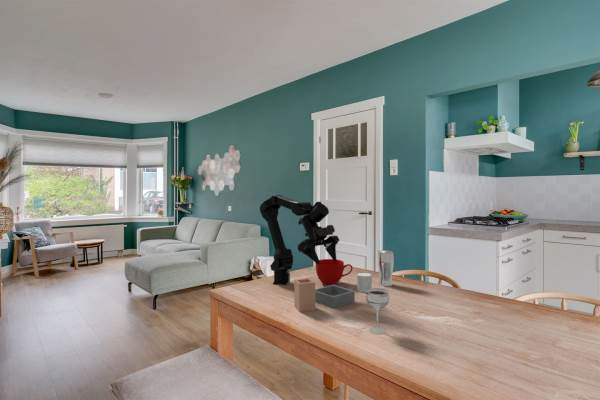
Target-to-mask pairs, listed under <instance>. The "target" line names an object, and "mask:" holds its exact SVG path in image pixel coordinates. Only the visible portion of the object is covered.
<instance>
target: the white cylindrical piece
mask: <svg viewBox="0 0 600 400" xmlns="http://www.w3.org/2000/svg"><path fill="white" fill-rule="evenodd" d="M355 278H356V287H357V288H356V289H357V292H359V293H365V294H366V293H367V290H368V289H371V288H372V283H373V274H372V273H369V272H357V273H356V275H355ZM367 294H368V293H367Z"/></svg>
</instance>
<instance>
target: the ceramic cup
mask: <svg viewBox="0 0 600 400" xmlns="http://www.w3.org/2000/svg"><path fill="white" fill-rule="evenodd" d="M319 261H320V264H319V265H318V264H317V263H315V272H316V276H317V278H318V280H319V281H320V282H321V283H322V285H324V286H330V285H336V286H337V284H338V283H339V282H340V281H341V279H342V278H343V277H346V276H348V275H350V274H351V273H352V271H353V269H354V268H353V265H351V264H350V263H349V264H348V263H347V264H344V263H345V262H344V260H341V259H337V260H336V261H334V260H333V259H332V258H326V259H325V258H323V259H319ZM346 267H350V270H349V271H348V272H347V273H344V270H345V268H346Z"/></svg>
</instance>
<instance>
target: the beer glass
mask: <svg viewBox="0 0 600 400" xmlns="http://www.w3.org/2000/svg"><path fill="white" fill-rule="evenodd" d="M394 257H395V256H394V251H392V250H386V249H385V250H384V249H382V250H378V253H377V268H378V273H379V281H378V285H379V286H381V287H387V288H388V287H389V288H390V287H392V286H393V283H394V282H393V272H394V271H393V270H394V265H395V261H394Z"/></svg>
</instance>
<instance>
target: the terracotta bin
mask: <svg viewBox="0 0 600 400" xmlns="http://www.w3.org/2000/svg"><path fill="white" fill-rule="evenodd" d="M293 281H294V282H293V283H294V284H293V285H294V287H293V290H294V293H293V294H294V297H293V299H294V300H293V301H294V307H295V309H296V310H297V312H299V313H302V312H309V311H310V312H311V311H316V302H315V289H316V282H315V280H313V279H311V278H310V277H309V278H298V279H296V278H295V279H294V280H293Z"/></svg>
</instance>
